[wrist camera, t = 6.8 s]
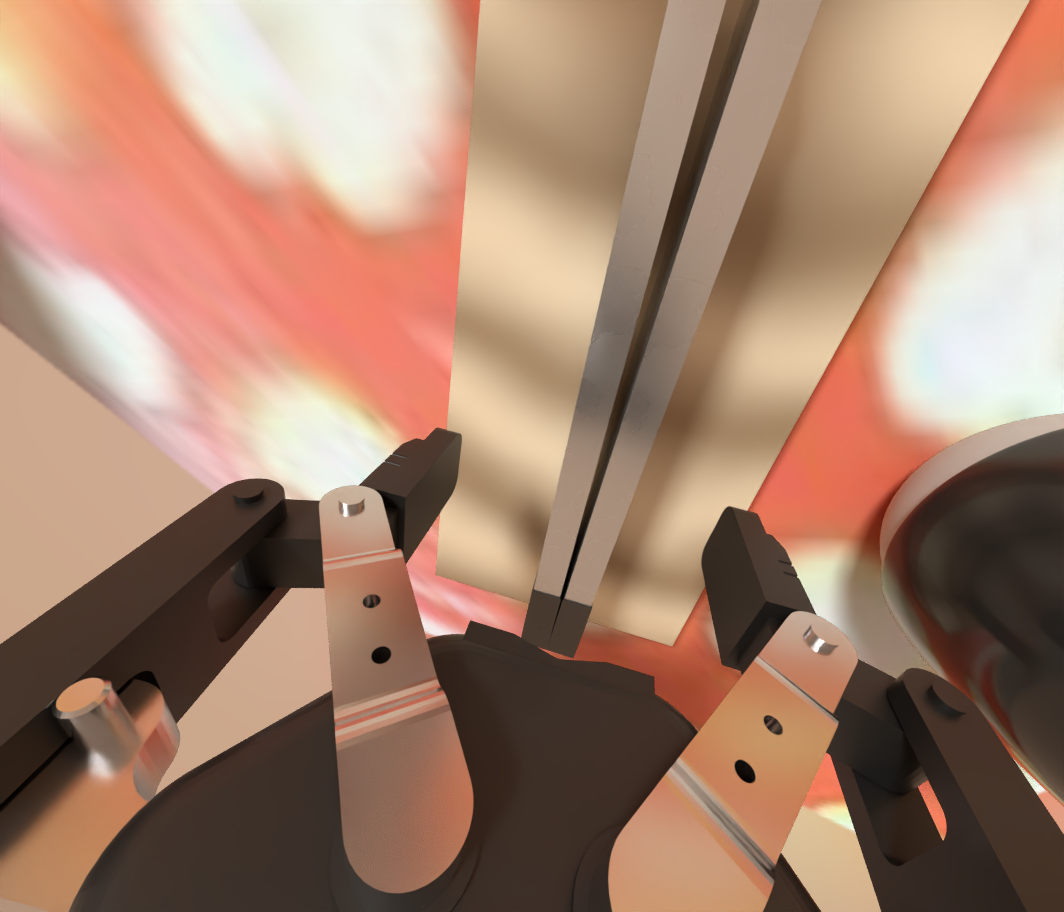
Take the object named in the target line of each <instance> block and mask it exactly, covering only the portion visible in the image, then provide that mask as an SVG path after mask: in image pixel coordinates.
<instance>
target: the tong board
mask: <svg viewBox="0 0 1064 912" xmlns="http://www.w3.org/2000/svg"><path fill="white" fill-rule="evenodd" d="M743 1H744V0H726V3H725V6H724V10H723V14H722V17H721V21H720V24H719V28H718V32H717V35H716V39H715V42H714V46H713V49H712V53H711V57H710V60H709V64H708V67H707V71H706V75H705V78H704V82H703V85H702V89H701V93H700V96H699V100H698V103H697V107H696V111H695V114H694V118H693V121H692V125H691V128H690V132H689V136H688V139H687V143H686V146H685V150H684V154H683V157H682V161H681V164H680V168H679V172H678V175H677V179H676V182H675V186H674V190H673V193H672V197H671V200H670V204H669V207H668V211H667V215H666V218H665V222H664V225H663V229H662V233H661V236H660V240H659V243H658V247H657V251H656V254H655V258H654V261H653V265H652V269H651V272H650V276H649V279H648V283H647V287H646V290H645V294H644V297H643V301H642V304H641V308H640V312H639V315H638V319H637V322H636V326H635V330H634V333H633V337H632V340H631V344H630V348H629V351H628V355H627V358H626V362H625V366H624V369H623V373H622V376H621V380H620V383H619V387H618V391H617V394H616V398H615V401H614V405H613V409H612V412H611V416H610V419H609V423H608V427H607V430H606V434H605V437H604V441H603V445H602V448H601V452H600V455H599V459H598V462H597V466H596V470H597V467H598V464H599V461H600V458H601V454H602V451H603V448H604V445H605V442H606V438H607V435H608V432H609V429H610V426H611V422H612V419H613V416H614V413H615V410H616V406H617V403H618V400H619V397H620V394H621V390H622V387H623V384H624V381H625V378H626V374H627V371H628V368H629V365H630V361H631V358H632V355H633V352H634V349H635V345H636V342H637V339H638V336H639V333H640V329H641V326H642V323H643V320H644V317H645V313H646V310H647V307H648V304H649V301H650V297H651V294H652V291H653V288H654V285H655V281H656V278H657V275H658V272H659V269H660V265H661V262H662V259H663V256H664V253H665V249H666V246H667V243H668V240H669V237H670V233H671V230H672V227H673V224H674V221H675V217H676V214H677V211H678V208H679V205H680V201H681V198H682V195H683V192H684V189H685V185H686V182H687V179H688V176H689V173H690V169H691V166H692V163H693V160H694V156H695V153H696V150H697V147H698V144H699V140H700V137H701V134H702V131H703V128H704V124H705V121H706V118H707V115H708V112H709V108H710V105H711V102H712V99H713V96H714V92H715V89H716V86H717V83H718V80H719V76H720V73H721V70H722V67H723V64H724V60H725V57H726V54H727V51H728V48H729V44H730V41H731V38H732V35H733V32H734V28H735V25H736V22H737V19H738V16H739V12H740V9H741V6H742V3H743ZM1029 1H1030V0H822V1H821V4H820V6H819V9H818V11H817V14H816V17H815V19H814V22H813V25H812V27H811V30H810V32H809V35H808V38H807V40H806V43H805V46H804V48H803V51H802V54H801V56H800V59H799V61H798V64H797V67H796V69H795V72H794V75H793V77H792V80H791V82H790V85H789V88H788V90H787V93H786V96H785V98H784V101H783V103H782V106H781V109H780V111H779V114H778V117H777V119H776V122H775V125H774V127H773V130H772V132H771V135H770V138H769V140H768V143H767V146H766V148H765V151H764V153H763V156H762V159H761V161H760V164H759V167H758V169H757V172H756V174H755V177H754V180H753V182H752V185H751V188H750V190H749V193H748V196H747V198H746V201H745V203H744V206H743V209H742V211H741V214H740V217H739V219H738V222H737V224H736V227H735V230H734V232H733V235H732V238H731V240H730V243H729V245H728V248H727V251H726V253H725V256H724V259H723V261H722V264H721V267H720V269H719V272H718V274H717V277H716V280H715V282H714V285H713V288H712V290H711V293H710V295H709V298H708V301H707V303H706V306H705V309H704V311H703V314H702V316H701V319H700V322H699V324H698V327H697V330H696V332H695V335H694V338H693V340H692V343H691V345H690V348H689V351H688V353H687V356H686V359H685V361H684V364H683V366H682V369H681V372H680V374H679V377H678V380H677V382H676V385H675V387H674V390H673V393H672V395H671V398H670V401H669V403H668V406H667V408H666V411H665V414H664V416H663V419H662V422H661V424H660V427H659V430H658V432H657V435H656V437H655V440H654V443H653V445H652V448H651V451H650V453H649V456H648V458H647V461H646V464H645V466H644V469H643V472H642V474H641V477H640V479H639V482H638V485H637V487H636V490H635V493H634V495H633V498H632V501H631V503H630V506H629V508H628V511H627V514H626V516H625V519H624V522H623V524H622V527H621V529H620V532H619V535H618V537H617V540H616V543H615V545H614V548H613V550H612V553H611V556H610V558H609V561H608V564H607V566H606V569H605V572H604V574H603V577H602V579H601V582H600V585H599V587H598V590H597V593H596V595H595V598H594V600H593V606H592V610H591V613H590V616H589V618H588V621H590V622H593V623H596V624H600V625H603V626H606V627H610V628H613V629H616V630H619V631H623V632H626V633H629V634H633V635H636V636H639V637H643V638H646V639H649V640H653V641H656V642H659V643H662V644H666V645H669V646H673V644H674V642H675V640H676V638H677V637H678V635H679V633H680V631H681V629H682V627H683V626H684V624H685V622H686V620H687V618H688V617H689V615H690V613H691V611H692V609H693V608H694V606H695V604H696V602H697V600H698V599H699V597H700V595H701V593H702V591H703V590H704V588H705V581H704V576H703V571H702V566H701V559H702V553H703V549H704V547H705V545H706V543H707V541H708V539H709V537H710V535H711V533H712V531H713V529H714V527H715V526H716V524H717V522H718V520H719V518H720V516H721V514H722V512H723V511H724V509H725V508H726V507H728V506H731V507H735V508H739V509H743V510H746V511H747V510H748V508H749V506H750V505H751V503H752V501H753V499H754V497H755V496H756V494H757V492H758V490H759V488H760V487H761V485H762V483H763V481H764V479H765V478H766V476H767V474H768V472H769V470H770V469H771V467H772V465H773V463H774V461H775V460H776V458H777V456H778V454H779V452H780V450H781V449H782V447H783V445H784V443H785V441H786V440H787V438H788V436H789V434H790V432H791V431H792V429H793V427H794V425H795V423H796V422H797V420H798V418H799V416H800V414H801V413H802V411H803V409H804V407H805V405H806V404H807V402H808V400H809V398H810V396H811V394H812V393H813V391H814V389H815V387H816V385H817V384H818V382H819V380H820V378H821V376H822V375H823V373H824V371H825V369H826V367H827V366H828V364H829V362H830V360H831V358H832V357H833V355H834V353H835V351H836V349H837V348H838V346H839V344H840V342H841V340H842V338H843V337H844V335H845V333H846V331H847V329H848V328H849V326H850V324H851V322H852V320H853V319H854V317H855V315H856V313H857V311H858V310H859V308H860V306H861V304H862V302H863V301H864V299H865V297H866V295H867V293H868V292H869V290H870V288H871V286H872V284H873V282H874V281H875V279H876V277H877V275H878V273H879V272H880V270H881V268H882V266H883V264H884V263H885V261H886V259H887V257H888V255H889V254H890V252H891V250H892V248H893V246H894V245H895V243H896V241H897V239H898V237H899V236H900V234H901V232H902V230H903V228H904V226H905V225H906V223H907V221H908V219H909V217H910V216H911V214H912V212H913V210H914V208H915V207H916V205H917V203H918V201H919V199H920V198H921V196H922V194H923V192H924V190H925V189H926V187H927V185H928V183H929V181H930V180H931V178H932V176H933V174H934V172H935V170H936V169H937V167H938V165H939V163H940V161H941V160H942V158H943V156H944V154H945V152H946V151H947V149H948V147H949V145H950V143H951V142H952V140H953V138H954V136H955V134H956V133H957V131H958V129H959V127H960V125H961V124H962V122H963V120H964V118H965V116H966V114H967V113H968V111H969V109H970V107H971V105H972V104H973V102H974V100H975V98H976V96H977V95H978V93H979V91H980V89H981V87H982V86H983V84H984V82H985V80H986V78H987V77H988V75H989V73H990V71H991V69H992V68H993V66H994V64H995V62H996V60H997V59H998V57H999V55H1000V53H1001V51H1002V49H1003V48H1004V46H1005V44H1006V42H1007V40H1008V39H1009V37H1010V35H1011V33H1012V31H1013V30H1014V28H1015V26H1016V24H1017V22H1018V21H1019V19H1020V17H1021V15H1022V13H1023V12H1024V10H1025V8H1026V6H1027V4H1028V3H1029ZM667 5H668V0H480V13H479V25H478V38H477V51H476V64H475V77H474V89H473V102H472V115H471V128H470V140H469V153H468V166H467V179H466V192H465V204H464V217H463V230H462V243H461V256H460V268H459V281H458V294H457V307H456V320H455V332H454V345H453V358H452V371H451V383H450V396H449V409H448V422H447V430H449V431H453V432H456V433H460V434H461V435H462V444H461V453H460V462H459V471H458V479H457V483H456V486H455V489H454V492H453V494H452V495H451V497H450V499H449V500H448V502H447V503H446V505H445V506H444V508H443V509H442V511H441V512H440V524H439V537H438V550H437V563H436V575H437V576H441V577H444V578H447V579H451V580H454V581H457V582H461V583H464V584H467V585H470V586H474V587H477V588H480V589H484V590H487V591H490V592H494V593H497V594H500V595H504V596H507V597H510V598H514V599H517V600H520V601H523V602H527V603H529V602H530V597H531V593H532V589H533V585H534V582H535V579H536V575H537V572H538V568H539V564H540V560H541V555H542V551H543V547H544V542H545V538H546V534H547V529H548V525H549V521H550V516H551V512H552V507H553V503H554V499H555V494H556V490H557V486H558V481H559V477H560V472H561V468H562V464H563V459H564V455H565V451H566V446H567V442H568V437H569V433H570V429H571V424H572V420H573V416H574V411H575V407H576V402H577V398H578V394H579V389H580V385H581V381H582V376H583V372H584V367H585V363H586V359H587V354H588V350H589V346H590V341H591V337H592V333H593V328H594V324H595V319H596V315H597V311H598V306H599V302H600V298H601V293H602V289H603V284H604V280H605V276H606V271H607V267H608V263H609V258H610V254H611V249H612V245H613V241H614V236H615V232H616V228H617V223H618V219H619V214H620V210H621V206H622V201H623V197H624V193H625V188H626V184H627V180H628V175H629V171H630V166H631V162H632V158H633V153H634V149H635V145H636V140H637V136H638V131H639V127H640V123H641V118H642V114H643V110H644V105H645V101H646V96H647V92H648V88H649V83H650V79H651V75H652V70H653V66H654V61H655V57H656V53H657V48H658V44H659V40H660V35H661V31H662V27H663V22H664V18H665V13H666V9H667ZM596 470H595V473H594V477H595V474H596ZM594 477H593V480H594ZM593 480H592V483H593ZM591 486H592V484H591ZM590 490H591V488H590ZM589 493H590V491H589ZM588 496H589V495H588ZM587 499H588V498H587Z"/></svg>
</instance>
